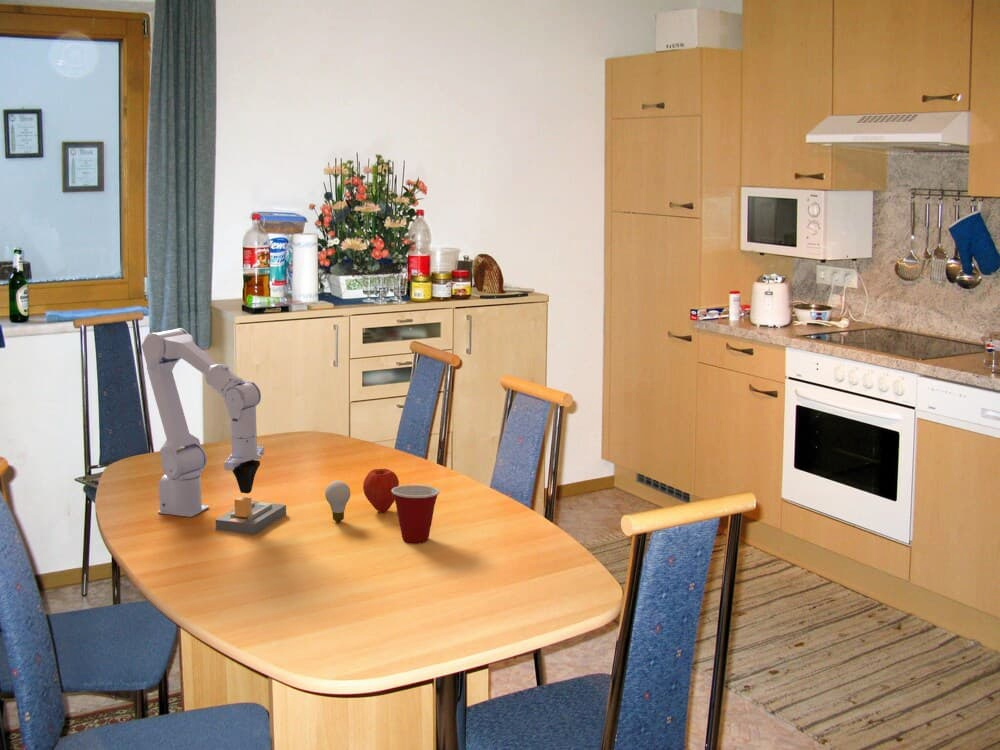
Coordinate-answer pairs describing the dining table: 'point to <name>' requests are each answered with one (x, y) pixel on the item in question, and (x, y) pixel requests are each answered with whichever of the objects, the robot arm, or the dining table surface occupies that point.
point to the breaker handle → (243, 506)
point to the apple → (380, 488)
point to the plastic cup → (415, 511)
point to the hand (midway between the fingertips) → (245, 492)
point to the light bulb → (337, 498)
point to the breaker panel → (252, 518)
